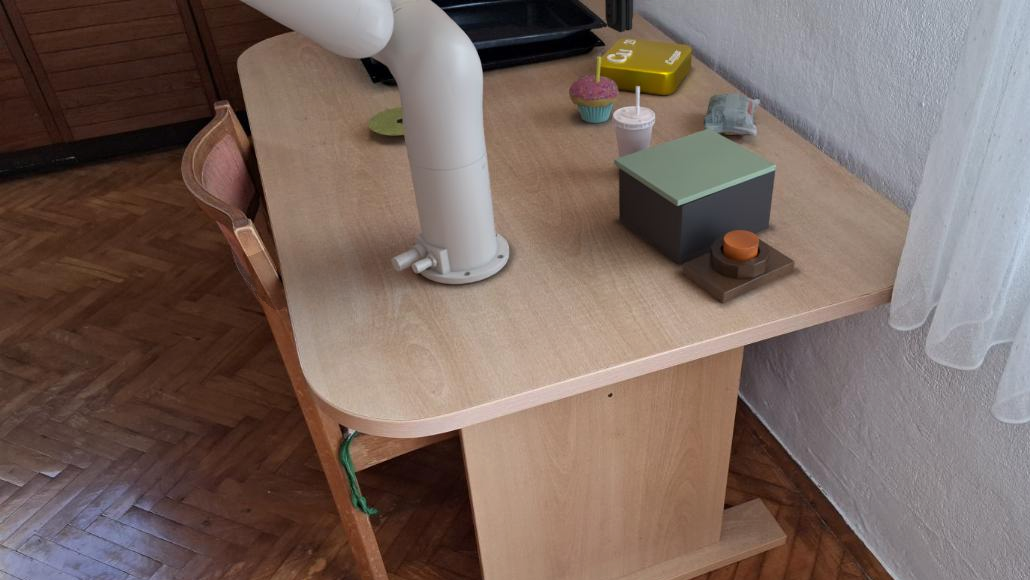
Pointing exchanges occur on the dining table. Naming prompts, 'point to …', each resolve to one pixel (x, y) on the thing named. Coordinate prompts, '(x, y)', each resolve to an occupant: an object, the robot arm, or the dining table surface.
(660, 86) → the element tile
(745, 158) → the lid
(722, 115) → the packaged food
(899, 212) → the dining table surface
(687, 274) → the switch block
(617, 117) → the smoothie
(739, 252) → the button
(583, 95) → the cupcake
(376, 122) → the mat
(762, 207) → the dark grey hollow box
